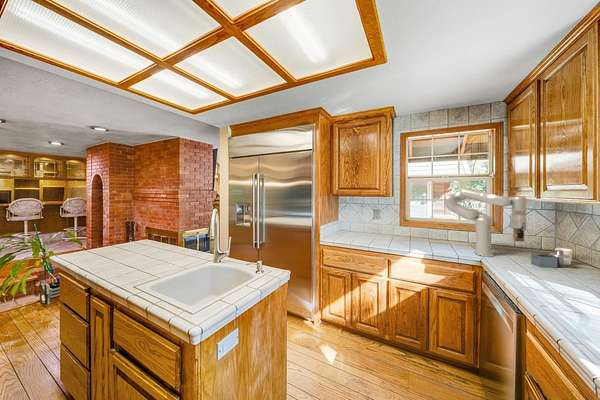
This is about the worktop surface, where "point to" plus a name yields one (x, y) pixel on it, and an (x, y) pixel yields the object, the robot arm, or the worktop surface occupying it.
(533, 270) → the worktop surface
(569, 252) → the white cup
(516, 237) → the wedge peg
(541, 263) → the grey boxy piece
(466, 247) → the worktop surface
